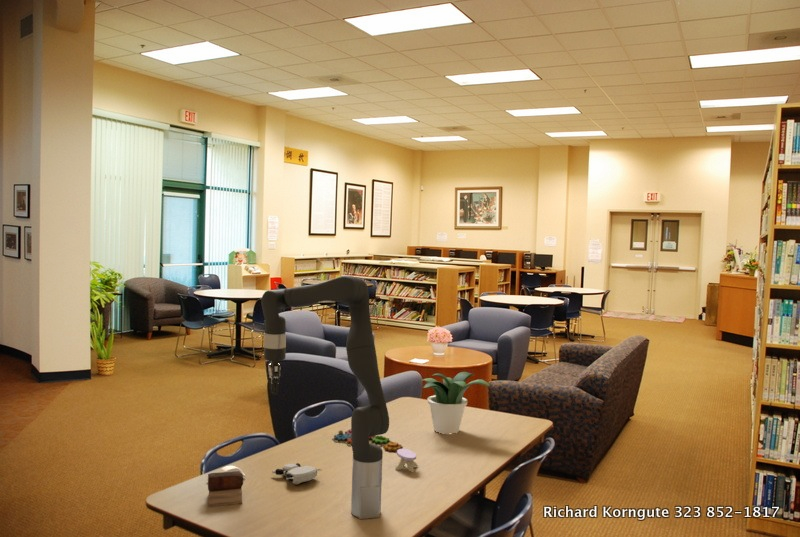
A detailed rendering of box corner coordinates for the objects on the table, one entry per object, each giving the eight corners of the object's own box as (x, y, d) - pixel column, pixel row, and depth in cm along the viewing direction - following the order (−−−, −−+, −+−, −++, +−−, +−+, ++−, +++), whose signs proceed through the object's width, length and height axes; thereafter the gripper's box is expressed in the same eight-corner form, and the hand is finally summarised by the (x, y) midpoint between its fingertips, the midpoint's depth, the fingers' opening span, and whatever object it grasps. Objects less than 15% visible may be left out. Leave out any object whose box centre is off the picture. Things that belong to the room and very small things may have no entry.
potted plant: (474, 448, 251) (476, 387, 250) (401, 432, 268) (403, 376, 267) (501, 429, 278) (503, 374, 277) (433, 416, 296) (435, 364, 295)
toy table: (391, 464, 230) (391, 449, 230) (413, 462, 233) (414, 447, 233) (398, 473, 221) (399, 458, 221) (421, 472, 223) (422, 456, 223)
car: (237, 474, 216) (237, 461, 216) (246, 479, 211) (246, 466, 211) (206, 482, 208) (206, 469, 207) (214, 488, 203) (214, 474, 203)
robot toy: (269, 479, 214) (294, 489, 203) (269, 466, 214) (293, 476, 203) (298, 471, 222) (323, 480, 212) (298, 458, 222) (323, 467, 212)
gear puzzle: (410, 448, 250) (410, 438, 250) (387, 458, 237) (387, 448, 237) (352, 432, 268) (352, 423, 268) (328, 441, 255) (328, 432, 255)
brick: (208, 492, 191) (208, 477, 190) (207, 487, 194) (208, 473, 194) (242, 488, 194) (243, 474, 194) (241, 483, 198) (242, 469, 198)
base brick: (242, 503, 191) (242, 492, 191) (207, 506, 188) (208, 495, 188) (241, 491, 200) (241, 481, 200) (208, 494, 197) (208, 483, 197)
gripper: (287, 349, 208) (286, 396, 208) (283, 342, 221) (282, 386, 222) (265, 349, 205) (264, 396, 206) (262, 342, 219) (261, 387, 220)
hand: (273, 391), depth 214 cm, fingers open, 8 cm apart
